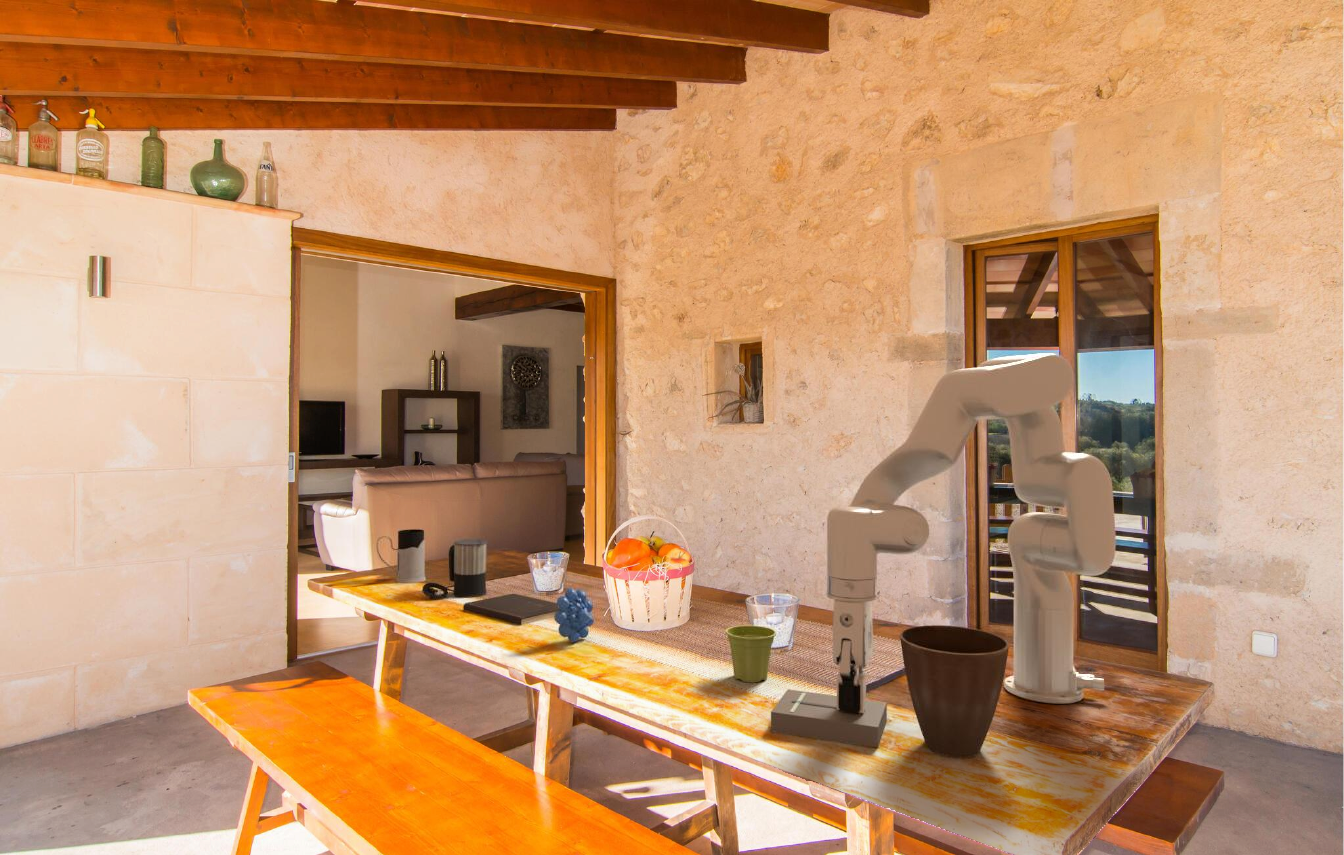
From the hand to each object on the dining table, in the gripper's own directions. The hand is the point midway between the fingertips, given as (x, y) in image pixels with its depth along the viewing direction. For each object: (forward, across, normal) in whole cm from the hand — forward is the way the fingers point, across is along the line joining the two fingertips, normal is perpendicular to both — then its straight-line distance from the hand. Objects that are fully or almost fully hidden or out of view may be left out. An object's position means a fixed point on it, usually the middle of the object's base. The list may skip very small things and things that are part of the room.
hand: (851, 705), depth 119 cm
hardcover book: (+5, +45, +90) cm, 101 cm away
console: (+4, 0, +3) cm, 5 cm away
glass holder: (+4, +65, +144) cm, 158 cm away
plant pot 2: (+4, -1, -15) cm, 15 cm away
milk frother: (+4, +55, +116) cm, 129 cm away
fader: (0, 0, 0) cm, 0 cm away
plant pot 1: (+4, +18, +21) cm, 28 cm away
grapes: (+4, +26, +62) cm, 68 cm away
